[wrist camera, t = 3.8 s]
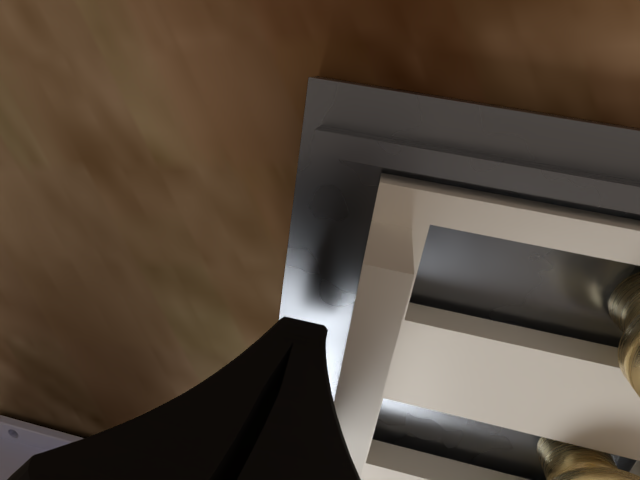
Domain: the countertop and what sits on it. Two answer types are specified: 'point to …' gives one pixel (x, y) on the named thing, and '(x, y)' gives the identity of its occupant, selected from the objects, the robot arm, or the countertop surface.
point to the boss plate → (466, 246)
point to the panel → (476, 338)
